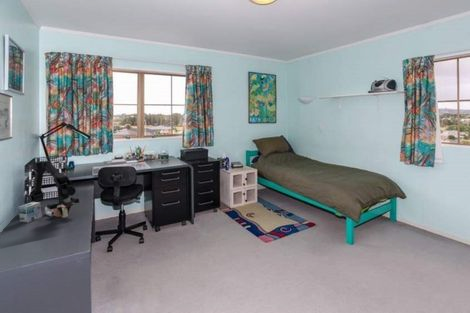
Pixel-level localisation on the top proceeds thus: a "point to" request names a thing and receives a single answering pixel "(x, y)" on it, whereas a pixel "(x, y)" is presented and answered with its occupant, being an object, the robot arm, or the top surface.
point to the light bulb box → (30, 212)
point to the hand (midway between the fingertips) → (64, 214)
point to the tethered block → (64, 210)
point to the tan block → (49, 211)
